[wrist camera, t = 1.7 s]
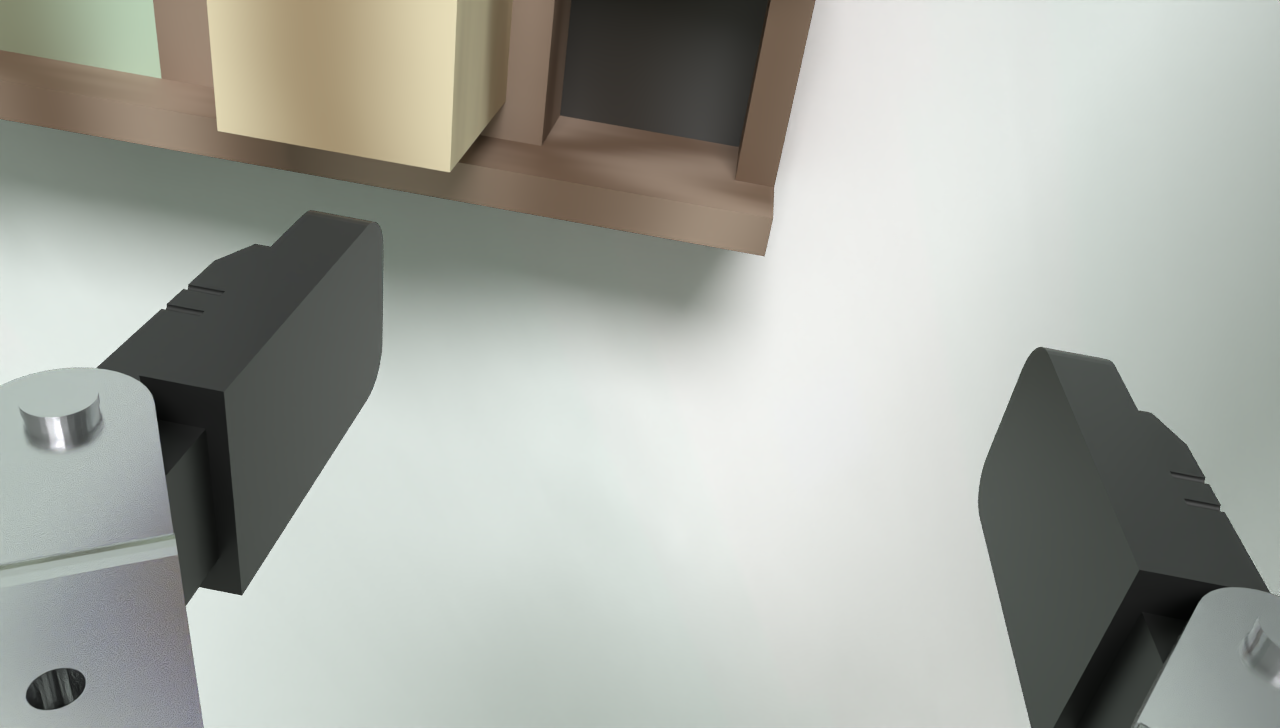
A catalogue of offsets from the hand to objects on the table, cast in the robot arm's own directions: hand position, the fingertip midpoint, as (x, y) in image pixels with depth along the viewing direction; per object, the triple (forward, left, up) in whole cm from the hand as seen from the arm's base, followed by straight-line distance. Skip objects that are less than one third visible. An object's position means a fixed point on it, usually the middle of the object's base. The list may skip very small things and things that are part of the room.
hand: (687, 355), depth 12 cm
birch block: (+8, 0, -15) cm, 17 cm away
